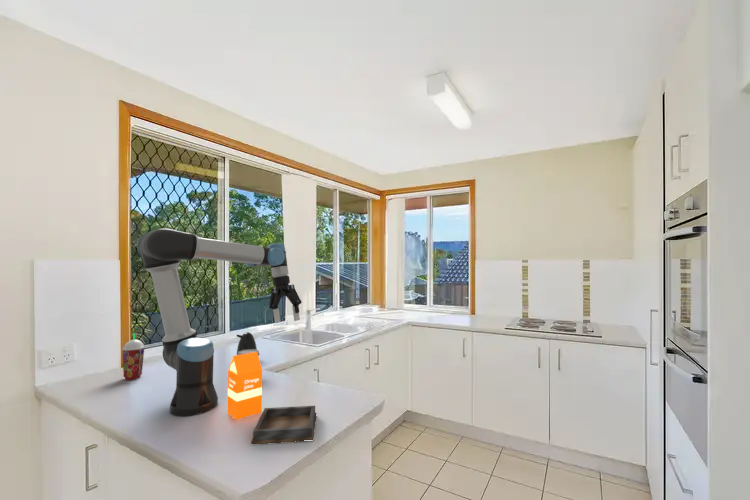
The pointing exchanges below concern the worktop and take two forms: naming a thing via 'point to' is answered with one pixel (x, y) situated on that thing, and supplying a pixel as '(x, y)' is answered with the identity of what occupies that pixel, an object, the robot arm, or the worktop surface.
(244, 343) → the pump dispenser
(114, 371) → the worktop surface
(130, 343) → the smoothie
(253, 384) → the orange juice
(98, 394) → the worktop surface
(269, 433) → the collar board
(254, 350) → the disposable coffee cup
